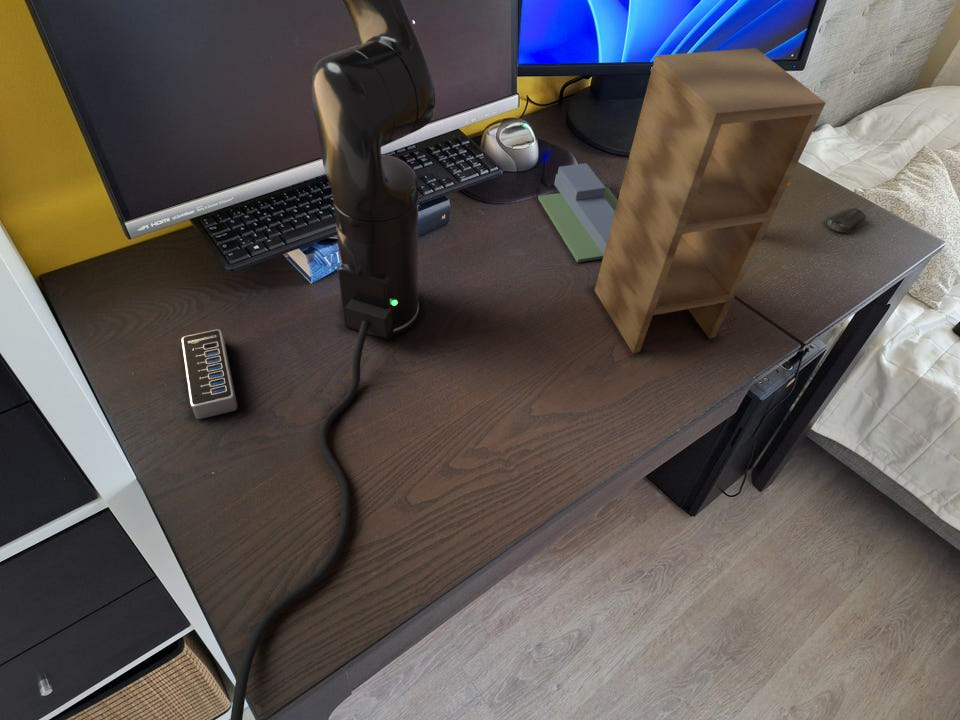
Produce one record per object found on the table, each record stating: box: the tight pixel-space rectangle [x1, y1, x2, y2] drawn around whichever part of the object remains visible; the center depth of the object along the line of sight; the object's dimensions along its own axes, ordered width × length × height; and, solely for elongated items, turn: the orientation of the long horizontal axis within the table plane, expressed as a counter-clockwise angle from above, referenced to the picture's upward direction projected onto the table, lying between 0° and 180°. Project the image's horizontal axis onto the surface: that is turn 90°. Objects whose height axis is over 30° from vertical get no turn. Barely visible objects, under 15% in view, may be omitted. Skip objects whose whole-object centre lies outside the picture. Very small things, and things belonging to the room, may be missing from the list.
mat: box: [537, 186, 618, 264], centre depth 101 cm, size 16×12×1 cm
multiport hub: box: [181, 329, 238, 420], centre depth 76 cm, size 4×11×2 cm, turn 22°
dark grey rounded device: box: [827, 208, 867, 234], centre depth 105 cm, size 4×6×2 cm, turn 130°
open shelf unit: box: [594, 47, 827, 354], centre depth 77 cm, size 12×12×32 cm
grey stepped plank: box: [554, 162, 615, 255], centre depth 100 cm, size 21×5×4 cm, turn 19°
